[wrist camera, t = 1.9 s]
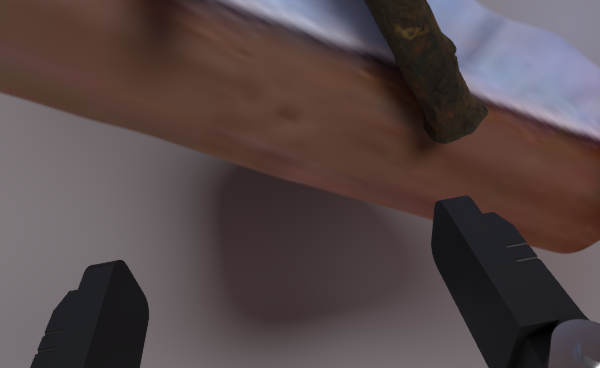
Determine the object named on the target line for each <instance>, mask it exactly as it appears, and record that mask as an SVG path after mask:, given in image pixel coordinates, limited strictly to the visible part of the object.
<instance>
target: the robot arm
mask: <svg viewBox="0 0 600 368" xmlns="http://www.w3.org/2000/svg"><path fill="white" fill-rule="evenodd" d="M431 248H432V254H433V258H434V261H435V263H436V266H437V268H438V270H439V272H440V274H441V276H442V278H443V280H444V282H445V283H446V286H447V287H448V290H449V291H450V293H451V295H452V297H453V299H454V301H455V303H456V305H457V307H458V309H459V311H460V313H461V315H462V317H463V319H464V321H465V323H466V325H467V327H468V328H469V330H470V332H471V334H472V336H473V338H474V340H475V342H476V344H477V346H478V348H479V350H480V352H481V354H482V356H483V357H484V360H485V361H486V363H487V365H488V367H489V368H600V323H597V322H594V321H590V320H589V319H588V318H587V317H586V316H585V315H584V314H583V313H582V312H581V310H580V309H579V308H578V307H577V305H576V304H575V303H574V302H573V300H572V299H571V298H570V297H569V295H568V294H567V293H566V291H565V290H564V289H563V288H562V286H561V285H560V284H559V283H558V281H557V280H556V279H555V278H554V276H553V275H552V274H551V272H550V271H549V270H548V269H547V268H546V266H545V265H544V264H543V262H542V261H541V260H540V259H538V258H537V255H536V254H535V252H534V251H533V250H532V248H531V247H530V246H529V245H527V244H526V241H525V240H524V238H523V237H522V236H521V234H520V233H519V232H518V231H517V229H516V228H515V227H514V226H513V225H512V224H511V223H509V222H508V221H506V220H505V219H503V218H502V217H500V216H499V215H497V214H496V213H494V212H491V213H485V214H482V212H481V211H480V210H479V208H478V207H477V205H476V204H475V203H474V201H473V200H472V199H471V198H470V197H469V196H462V197H456V198H451V199H446V200H440V201H437V202H436V203H435V207H434V218H433V230H432V240H431ZM148 320H149V308H148V302H147V299H146V297H145V295H144V293H143V291H142V290H141V288H140V287H139V285H138V283H137V281H136V280H135V278H134V276H133V275H132V273H131V271H130V270H129V268H128V266H127V265H126V264H125V262H124V261H122V260H117V261H112V262H106V263H101V264H96V265H91V266H89V267H87V269H86V270H85V272H84V274H83V277H82V280H81V282H80V285H79V288H78V290H74V291H69V292H68V294H67V295H66V296H65V297H64V298H63V300H62V301H61V302H60V303H59V305H58V306H57V307H56V308H55V310H54V311H53V313H52V316H51V318H50V321H49V323H48V325H47V328H46V331H45V336H44V337H43V338H42V340H41V343H40V345H39V347H38V354H36V355H35V358H34V360H33V362H32V364H31V367H30V368H140V363H141V358H142V353H143V347H144V342H145V337H146V331H147V326H148Z"/></svg>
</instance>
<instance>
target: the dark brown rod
mask: <svg viewBox="0 0 600 368" xmlns="http://www.w3.org/2000/svg"><path fill="white" fill-rule="evenodd" d="M365 2H366V4H367V5H368V7H369V9H370V11H371V13H372V15H373V17H374V19H375V21H376V23H377V25H378V27H379V29H380V31H381V33H382V34H383V36H384V38H385V39H386V41H387V43H388V45H389V47H390V49H391V51H392V52H393V54H394V56H395V60H396V63H397V64H398V65H399V68H400V71H401V73H402V75H403V77H404V79H405V80H406V81H407V83H408V84H409V87H410V89H411V91H412V92H413V93H414V95H415V96H416V98H417V99H418V101H419V103H420V106H421V108H422V110H423V112H424V114H425V116H426V119H425V122H424V130H426V131H427V133H428V135H429V136H430V137H431V139H432V140H434V141H437V142H438V143H442V144H443V143H450V142H452V141H455V140H457V139H460V138H461V137H463V136H465V135H468V134H471V133H473V132H474V131H475V130H476V128H477V127H478V125H479V124H480V123H481V121H482V120H483V119H484V118H485V117H486V115H487V114H488V109H487V108H486V106H485V105H484V104H483V103H481V102H479V101H477V100H475V98H474V97H473V96H472V95H471V94H470V92H469V89H468V87H467V85H466V82H465V81H464V79H463V77H462V75H461V73H460V71H459V67H458V62H457V57H456V56H455V52H456V46H455V45H454V43H453V42H452V41H451V40H450V39H449V38H448V37H446V36H445V35H444V34H443V33H442V32H441V30H440V28H439V26H438V24H437V22H436V19H435V17H434V15H433V13H432V10H431V8H430V6H429V4H428V3H427V1H426V0H365Z"/></svg>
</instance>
